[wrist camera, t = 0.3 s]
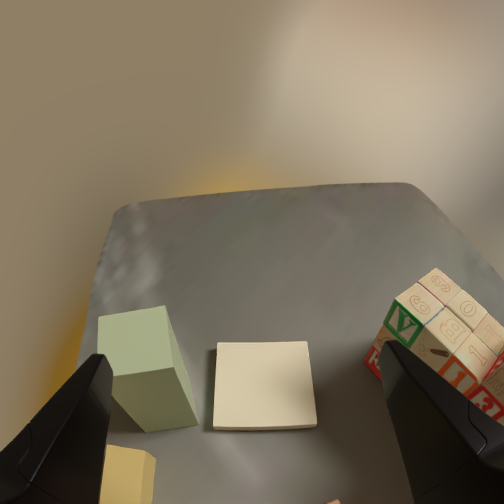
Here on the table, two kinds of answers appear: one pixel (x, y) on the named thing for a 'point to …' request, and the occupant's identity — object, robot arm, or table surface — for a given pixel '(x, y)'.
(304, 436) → the table surface
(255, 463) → the table surface
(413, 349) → the stack of blocks
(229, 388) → the cream square slab
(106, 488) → the ochre brick
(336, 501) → the terracotta brick
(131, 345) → the sage brick
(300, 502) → the table surface
